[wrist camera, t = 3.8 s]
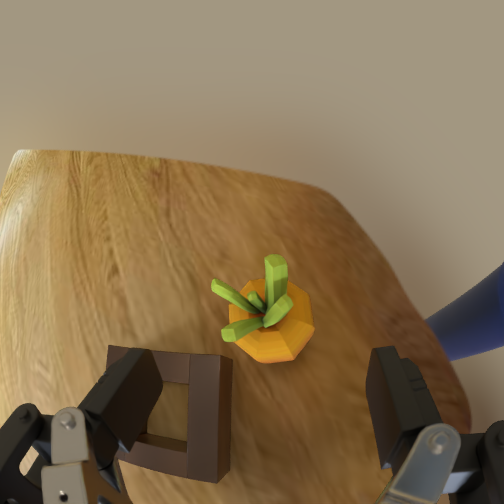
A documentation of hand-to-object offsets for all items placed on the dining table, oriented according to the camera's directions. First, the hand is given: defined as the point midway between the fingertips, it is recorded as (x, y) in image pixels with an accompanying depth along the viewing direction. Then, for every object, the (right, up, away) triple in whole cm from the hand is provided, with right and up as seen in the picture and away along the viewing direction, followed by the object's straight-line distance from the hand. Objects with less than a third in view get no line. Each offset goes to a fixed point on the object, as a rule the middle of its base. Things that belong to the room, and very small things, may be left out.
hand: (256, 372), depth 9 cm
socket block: (-7, -11, +13) cm, 19 cm away
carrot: (+3, -4, +15) cm, 16 cm away
